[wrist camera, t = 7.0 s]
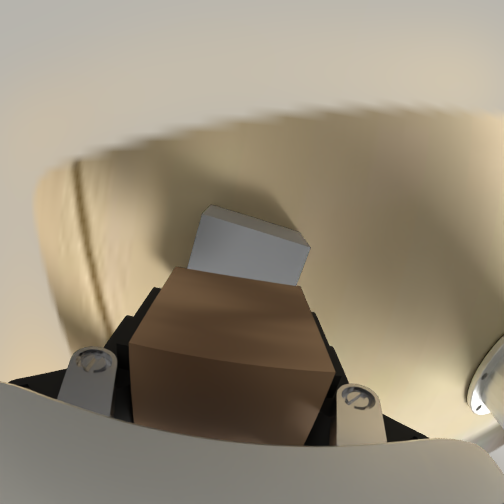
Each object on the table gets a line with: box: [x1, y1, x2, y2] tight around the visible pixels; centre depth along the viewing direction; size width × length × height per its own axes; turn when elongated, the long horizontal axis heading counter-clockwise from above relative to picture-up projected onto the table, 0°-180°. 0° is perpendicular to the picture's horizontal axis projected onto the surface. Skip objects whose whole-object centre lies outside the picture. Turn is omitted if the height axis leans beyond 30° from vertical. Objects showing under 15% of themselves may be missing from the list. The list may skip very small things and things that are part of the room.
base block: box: [187, 205, 311, 286], centre depth 19 cm, size 6×6×4 cm
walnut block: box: [129, 267, 335, 446], centre depth 9 cm, size 4×4×5 cm
